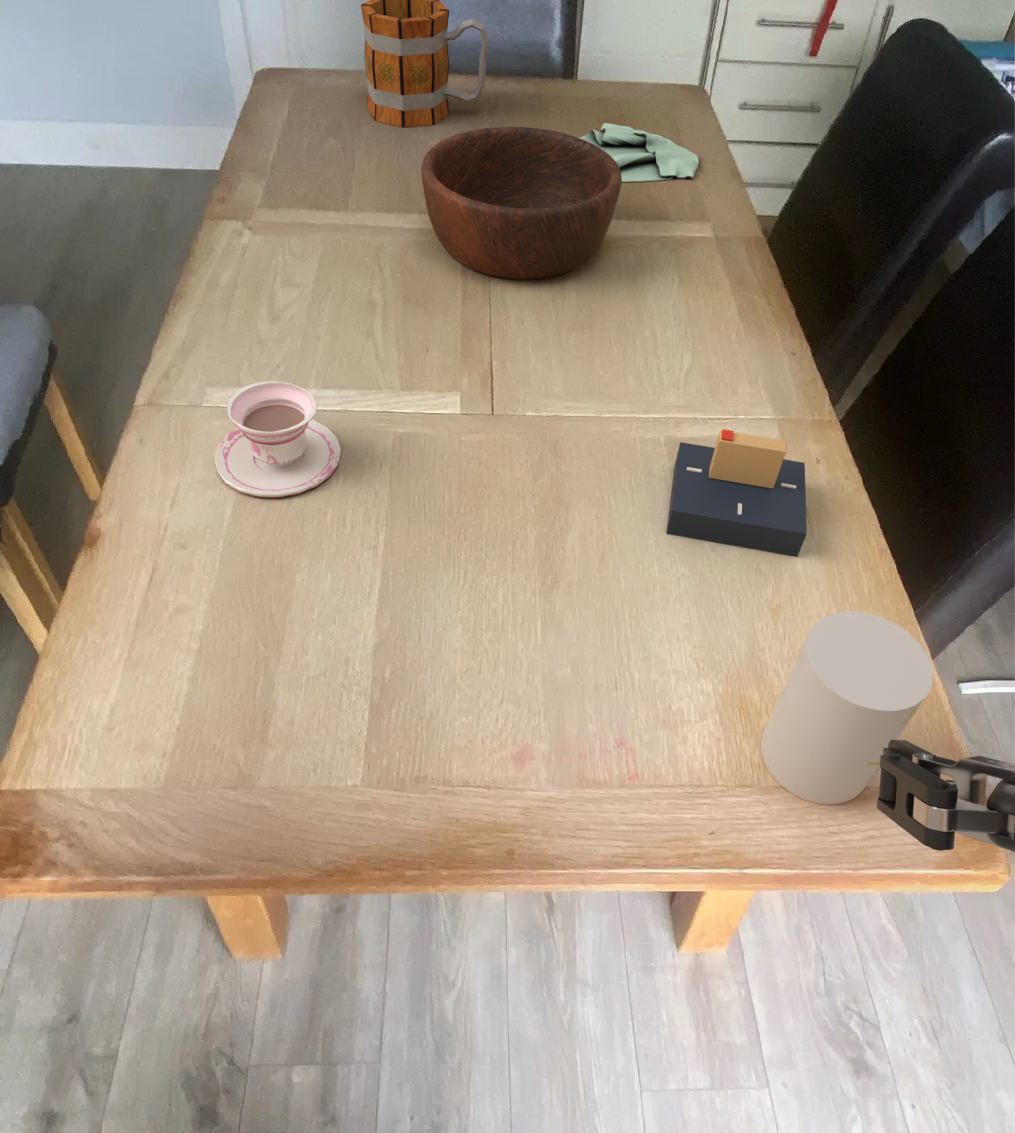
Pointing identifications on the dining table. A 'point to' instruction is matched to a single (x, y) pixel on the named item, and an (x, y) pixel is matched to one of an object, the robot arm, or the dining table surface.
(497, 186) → the wooden bowl
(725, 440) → the tan rectangular block
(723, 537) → the console
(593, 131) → the cloth
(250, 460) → the teacup
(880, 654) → the beige solid cylinder
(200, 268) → the dining table surface
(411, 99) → the mug
